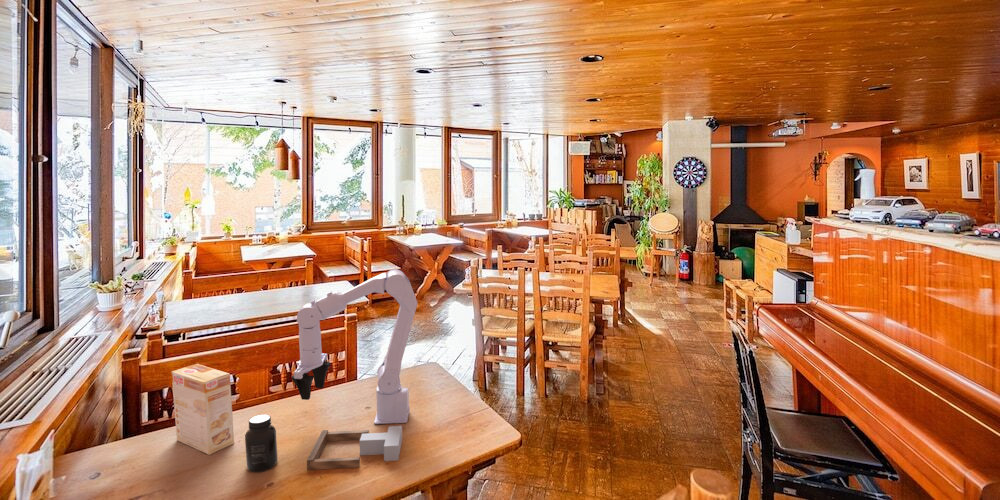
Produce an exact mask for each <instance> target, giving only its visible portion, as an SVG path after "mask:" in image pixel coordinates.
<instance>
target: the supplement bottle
mask: <svg viewBox="0 0 1000 500" xmlns="http://www.w3.org/2000/svg"><path fill="white" fill-rule="evenodd" d="M271 417H272V416H271V415H269V414H264V413H263V414H258V415H254V416H252V417H251V418H249V419H248V430H246V433H245V434H244V443H245V456H246V459H245V460H246V468H247V469H248V471H249V472H254V473H260V472H265V471H267V470H271V469H272V468H273V467H275V465H277V463H278V441H277V429H276V427H275V426H274V425H272V418H271Z"/></svg>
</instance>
